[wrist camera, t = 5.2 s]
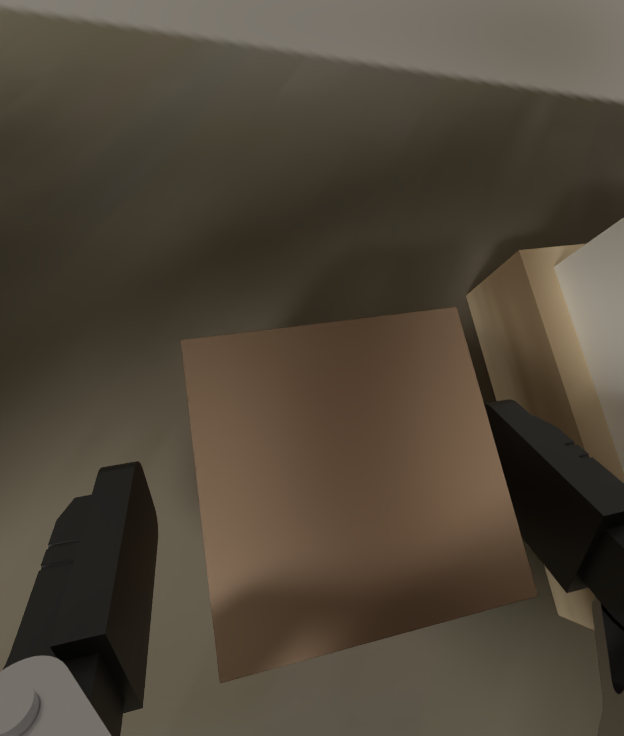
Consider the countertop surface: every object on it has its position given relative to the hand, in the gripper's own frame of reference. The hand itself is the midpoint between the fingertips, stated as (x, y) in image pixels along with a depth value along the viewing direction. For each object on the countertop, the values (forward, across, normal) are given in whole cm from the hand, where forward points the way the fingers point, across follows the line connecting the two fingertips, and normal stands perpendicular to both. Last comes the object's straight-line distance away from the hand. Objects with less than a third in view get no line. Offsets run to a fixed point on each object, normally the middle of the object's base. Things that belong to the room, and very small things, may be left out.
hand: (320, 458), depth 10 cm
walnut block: (+3, 0, +4) cm, 5 cm away
